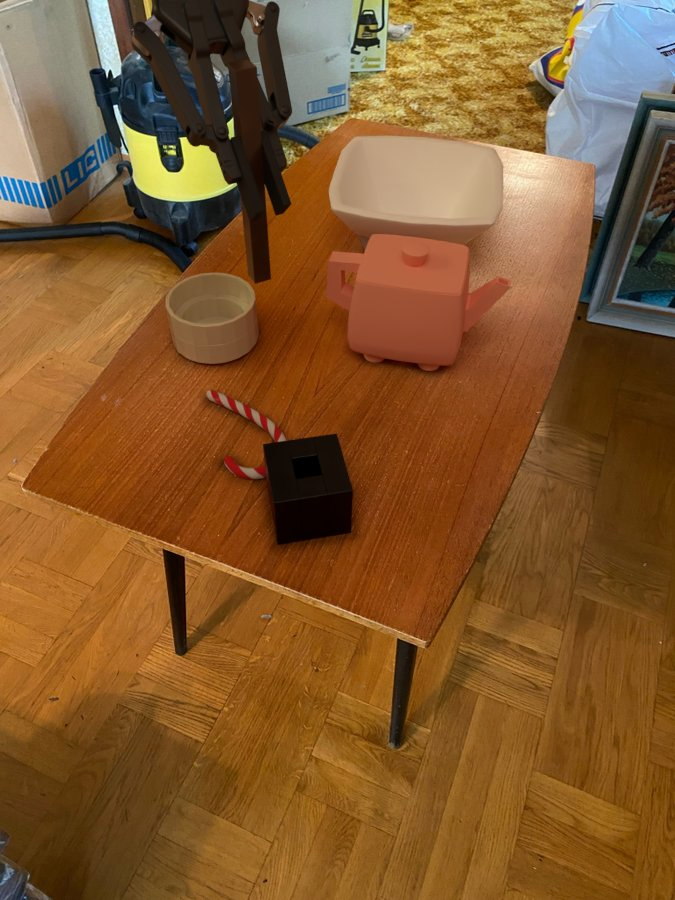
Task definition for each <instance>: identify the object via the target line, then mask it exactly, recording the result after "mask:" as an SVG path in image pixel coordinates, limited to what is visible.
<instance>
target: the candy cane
mask: <svg viewBox="0 0 675 900" xmlns="http://www.w3.org/2000/svg"><path fill="white" fill-rule="evenodd" d="M205 398H206V399H207V400H209V401H210V402H212V403H215V404H217V405H220V406H221V407H224V408H226V409H229V410H230V411H232V412H234V413H235V414H238V415H240V416H242V417H244V418H245V419H247V420H249V421H250V422H252V423H254V424H256V425H257V426H258V427H260V428H261V429H262V430H264V432H266V433H267V434H268V435H270V437H271V438H272V439H273V440H274V442H281V441H287V438H286V436H285V435H284V433H283V431H282V430H281V429H280V428H279V427H278V426H277V425H276V423H274V422H273V421H272V420H271V419H270V418H268V417H267V416H265V415H263V414H262V413H261V412H259V411H257V410H256V409H254V408H252V407H250V406H248V405H246V404H244V403H242V402H241V401H239V400H236V399H235V398H232V397H230V396H228V395H226V394H223V393H220V392H219V391H216V390H213V389H208V390H207V391H206V393H205ZM223 463H224V466H225V468H227V470H228V471H229V472H230V473H231V474H232V475H234V476H236V477H239V478H240V479H241V478H242V479H245V480H246V479H247V480H260V479H261V480H262V479H266V471H265V464H264V465H261V466H259V467H245V466H241V465H240V464H239V463H237V462H236V460H235V459H234V457H233V456H231V455H227V456H225V457H224V459H223Z"/></svg>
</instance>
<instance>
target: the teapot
mask: <svg viewBox="0 0 675 900" xmlns="http://www.w3.org/2000/svg"><path fill="white" fill-rule="evenodd" d="M470 256H471V255H470V247H469V246H467V245H466V244H465V245H461V244H456V243H451V242H445V241H439V240H432V239H426V238H418V237H409V236H400V235H389V234H373V235H372V236H371V237H370V239H369V241H368V244H367V246H366V249H365V251H364V252H363V253H358V252H345V251H334V250H333V251H332V253H331V255H330V257H329V259H328V266H327V277H326V290H325V298H326V299H328V300H329V301H331V302H332V303H335V304H336V305H338V306H340V307H341V308H343V309H345V310H346V311H348V318H347V343H348V346H349V349H350V350H351V351H353V352H356V353H358V354H362V355H363V357H364V359H365V360H366V361H368V362H371V363H381V362H383V361H384V360H385V359H386V360H391V361H398V362H405V363H411V364H412V363H413V364H417V365H418V367H419V368H420V369H421V370H423V371H426V372H428V371H429V372H432V371H436V370H438V369H439V368H440V366H452V365H453V364H454V362H455V360H456V358H457V355H458V353H459V351H460V346H461V343H462V338H463V335H464V333H467V332H468V331H469V330H470V329H471V328H472V327H473V326H474V325H475V324H476V323H477V322H478V321H479V320H480V319H481V318H482V317H483V316H484V315H485V314H486V313H487V312H488V311H489V310H490V309H491V308H492V307H493V306H494V305H495V304H496V303H497V302H498V301H499V300H500V299H501V298H502V297H503V296H504V295H505V294H506V293H507V292H509V290H510V289H511V283H512V279H508V278H505V277H503V276H499V275H496V276H495V277H494V278H493V279H491V280H490V281H487V283H485V284H483V285H481V286H480V287H478V288H477V289H475V290H473V291H472V292H469V291H470V290H469V289H470V274H471V272H470V270H471V267H470V266H471V265H470V264H471V260H470V259H471V258H470ZM346 272H350V273H355V274H356V277H355V281H354V286H353V285H351V284H350V283H348V282H346Z"/></svg>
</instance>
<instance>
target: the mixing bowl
mask: <svg viewBox="0 0 675 900" xmlns="http://www.w3.org/2000/svg"><path fill="white" fill-rule="evenodd" d="M164 302H165V310H166V316H167V321H168V325H169V331H170V336H171V339H172V344H173V346H174V348H175V350H176V351H177V353H178V354H180V355H181V356H182V357H184V358H185V359H186V360H190V361H192V362H196V363H199V364H208V365H216V364H225V363H228V362H232V361H234V360H237V359H240V358H241V357H243V356H245V355H246V354H248V353H249V352H250V351H251V350H252V349H253V348H254V347H255V346H256V345H257V342H258V339H259V336H260V332H259V321H258V320H259V319H258V310H257V299H256V292H255V289H254V288H253V287H252V285H251V283H250V282H249V281H246V280H245V279H244V278H242V277H240V276H237V275H233V274H231V273H226V272H216V271H215V272H201V273H199V274H195V275H190V276H188V277H186V278H184V279H182V280H180V281H178V282H177V283H176V284H174V286H172V287H171V288H170V289H169V291H168V292H167V295H166V296H165V301H164Z"/></svg>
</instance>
